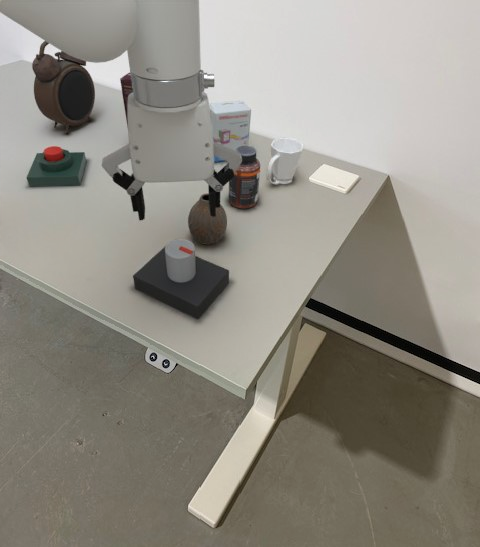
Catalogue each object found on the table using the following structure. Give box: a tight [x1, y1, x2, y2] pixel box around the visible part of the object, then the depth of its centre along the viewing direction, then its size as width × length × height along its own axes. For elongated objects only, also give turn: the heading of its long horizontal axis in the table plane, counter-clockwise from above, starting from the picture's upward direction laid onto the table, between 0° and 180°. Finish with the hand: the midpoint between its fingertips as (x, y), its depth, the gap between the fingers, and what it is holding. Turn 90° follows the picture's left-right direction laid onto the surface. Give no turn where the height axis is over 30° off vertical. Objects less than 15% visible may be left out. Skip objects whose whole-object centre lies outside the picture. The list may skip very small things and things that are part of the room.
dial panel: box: [132, 245, 230, 320], centre depth 66 cm, size 12×9×3 cm
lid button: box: [43, 145, 64, 161], centre depth 87 cm, size 4×4×2 cm
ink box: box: [209, 100, 252, 163], centre depth 95 cm, size 9×5×12 cm, turn 112°
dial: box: [164, 238, 196, 283], centre depth 63 cm, size 4×4×5 cm
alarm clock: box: [31, 40, 96, 134], centre depth 99 cm, size 15×7×20 cm, turn 154°
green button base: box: [25, 148, 87, 188], centre depth 88 cm, size 10×10×4 cm
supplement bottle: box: [228, 145, 261, 209], centre depth 81 cm, size 6×6×11 cm
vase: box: [187, 192, 228, 245], centre depth 73 cm, size 7×7×9 cm
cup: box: [266, 137, 305, 185], centre depth 89 cm, size 7×10×8 cm
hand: (177, 212), depth 58 cm, fingers open, 9 cm apart
